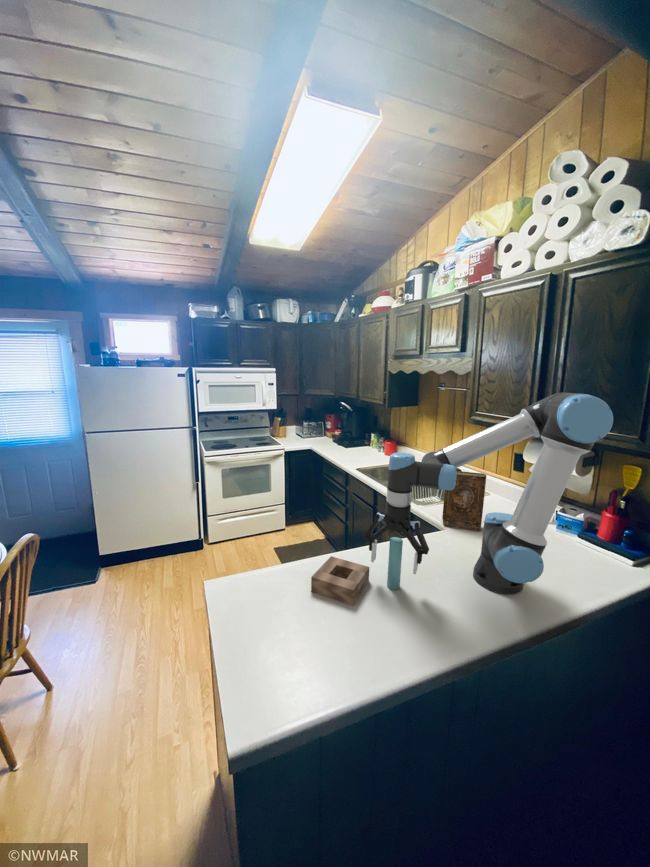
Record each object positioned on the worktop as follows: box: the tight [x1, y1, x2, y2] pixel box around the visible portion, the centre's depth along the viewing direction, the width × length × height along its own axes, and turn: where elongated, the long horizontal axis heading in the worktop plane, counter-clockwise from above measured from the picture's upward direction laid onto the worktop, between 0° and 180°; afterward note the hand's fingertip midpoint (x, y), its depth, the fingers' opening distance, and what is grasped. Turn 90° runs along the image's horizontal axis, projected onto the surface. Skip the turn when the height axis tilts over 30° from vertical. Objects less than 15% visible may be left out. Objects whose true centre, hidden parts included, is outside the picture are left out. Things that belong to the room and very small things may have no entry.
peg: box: [386, 536, 404, 591], centre depth 110 cm, size 4×4×16 cm
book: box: [441, 470, 487, 532], centre depth 155 cm, size 16×6×25 cm, turn 73°
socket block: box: [310, 556, 370, 606], centre depth 110 cm, size 14×14×5 cm
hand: (393, 566), depth 110 cm, fingers open, 13 cm apart
